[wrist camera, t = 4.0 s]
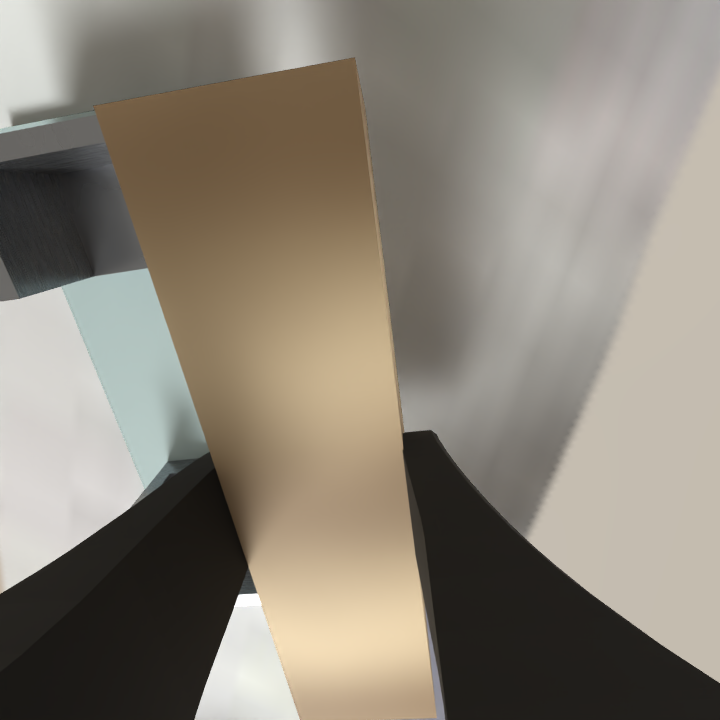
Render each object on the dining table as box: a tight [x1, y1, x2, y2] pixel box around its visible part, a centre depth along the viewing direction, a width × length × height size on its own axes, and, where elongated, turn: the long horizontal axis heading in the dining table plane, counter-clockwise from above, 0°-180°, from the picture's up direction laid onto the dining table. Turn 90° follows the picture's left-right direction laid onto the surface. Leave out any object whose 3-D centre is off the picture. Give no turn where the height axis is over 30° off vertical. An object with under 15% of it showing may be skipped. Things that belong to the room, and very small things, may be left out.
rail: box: [93, 58, 437, 720], centre depth 10 cm, size 14×4×4 cm, turn 8°
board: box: [0, 110, 210, 489], centre depth 18 cm, size 19×8×1 cm, turn 9°
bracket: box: [0, 115, 148, 301], centre depth 13 cm, size 4×6×4 cm, turn 99°
